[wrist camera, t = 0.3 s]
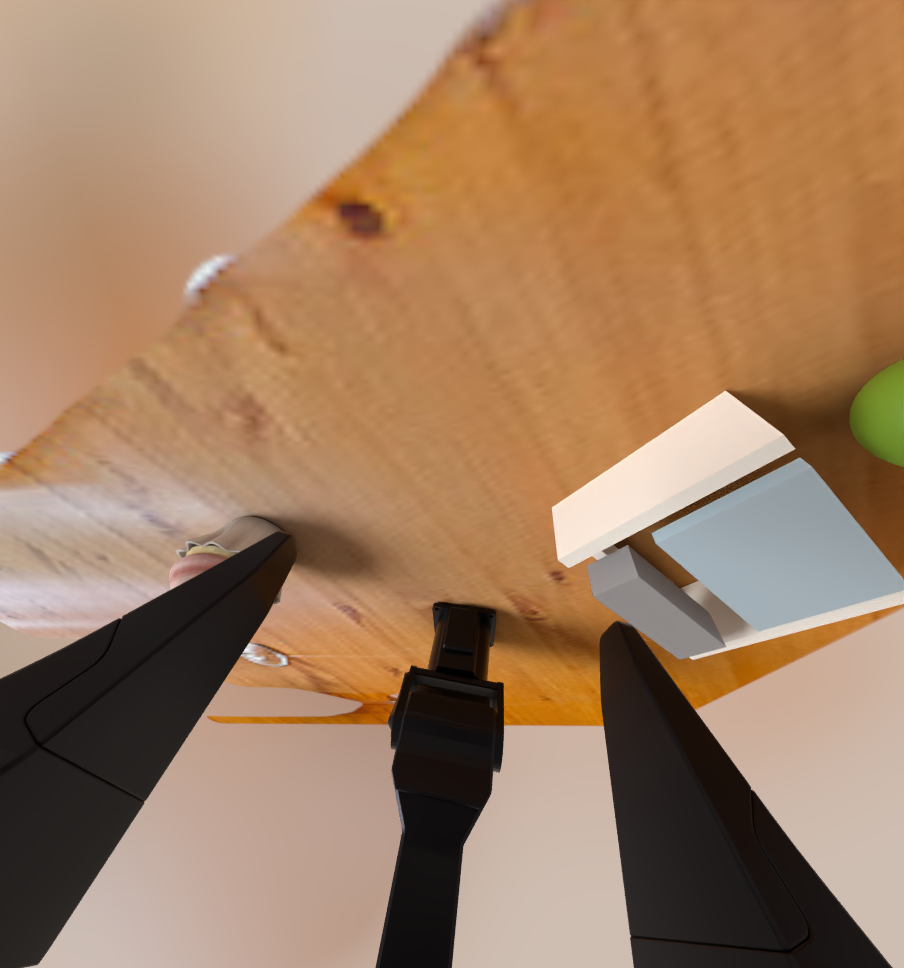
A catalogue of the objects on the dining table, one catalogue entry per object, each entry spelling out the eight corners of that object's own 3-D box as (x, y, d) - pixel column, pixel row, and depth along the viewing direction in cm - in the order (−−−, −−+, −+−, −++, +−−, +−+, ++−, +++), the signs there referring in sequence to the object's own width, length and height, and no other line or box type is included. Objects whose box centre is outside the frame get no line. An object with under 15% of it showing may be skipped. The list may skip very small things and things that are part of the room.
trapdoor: (883, 563, 18) (926, 601, 16) (673, 631, 25) (686, 664, 23) (788, 448, 15) (826, 478, 13) (578, 559, 22) (584, 590, 20)
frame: (846, 533, 22) (918, 599, 18) (668, 600, 28) (692, 659, 24) (725, 390, 18) (783, 434, 14) (551, 507, 24) (557, 559, 21)
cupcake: (201, 493, 30) (88, 585, 22) (299, 512, 29) (218, 613, 22) (233, 559, 36) (152, 651, 28) (315, 576, 35) (256, 675, 27)
